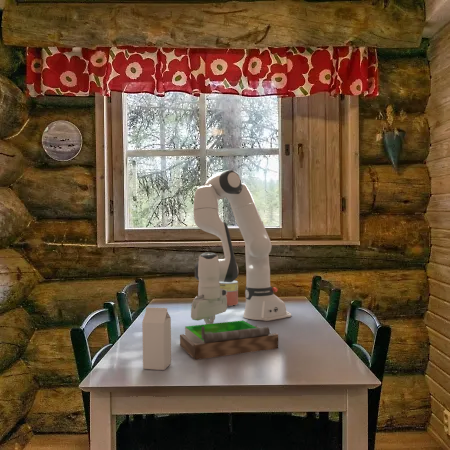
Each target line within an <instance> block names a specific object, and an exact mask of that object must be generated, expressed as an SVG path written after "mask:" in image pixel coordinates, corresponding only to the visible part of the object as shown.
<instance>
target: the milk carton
mask: <svg viewBox="0 0 450 450" xmlns="http://www.w3.org/2000/svg"><path fill="white" fill-rule="evenodd" d="M171 318H172V317H171V315H170V313H169V312H168V308H167V307H153V306H152V307H149V306H148V307H147V306H146V307H145V312H144V316H143V319H142V322H141V324H142V330H141V331H142V334H141V335H142V369H143V370H157V371H165V370H166V369H167V368H168V367H169V366H170V365H171V364H172V325H171V323H172V321H171V320H172V319H171Z"/></svg>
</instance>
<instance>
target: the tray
mask: <svg viewBox="0 0 450 450" xmlns="http://www.w3.org/2000/svg"><path fill="white" fill-rule="evenodd" d="M255 326H256V325H253V324H250V323H248V322H247V321H245V320H234V321H226V322H225V321H224V322H213V324H206V323H205V324H198V325H197V324H196V325H195V324H194V325H188V326H184V329H185V330H184V332H185V333H184V335H185V336H186V337H188V338H189V339H190V340H191V341H192V342H194V343H201V342H204V339H202V327H205V334H209V333H218V332H226V331H235V330H243V329H252V328H257V327H255Z"/></svg>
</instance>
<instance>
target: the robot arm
mask: <svg viewBox="0 0 450 450" xmlns="http://www.w3.org/2000/svg"><path fill="white" fill-rule="evenodd" d="M193 198H194V199H193V220H194V223H195V225H196V227H197V228H198V229H200V230H202V231H203V232H206V233H207V234H208V233H209V234H212V235H214V236H216V237H217V238H219V239H220V241H221V244H222V249H223V254H224V258H219V256H218V254H217V253H214V252H203V253H201V254H200V255H199V257H198V261H196V262H195V264H194V265H193V266H194V278H195V279H196V280H197V281H198V285H197V286H198V287H197V291H198V292H197V293H198V294H197V295H196V296H195V297H194V298H193V300H192V302H191V307H190V308H191V309H190V318H191V320H193V321H202V320H203V321H204V323H205V324H214V323H215V320H216V315H220V314H223V313H226V311H227V309H228V306H227V297H226V295H227V290H225V289H221V288H220V283H219V282H233V281H234V280H235V281H236V279H237V278H238V277H239V267H238V263H237V261H236V257H235V256H236V255H235V252H234V247H233V244H232V238H231V234H230V231H229V227H228V224H227V222H225V221H223V219H222V217H221V215H220V206H219V200H222V199H227V200H228V202H229V204H230V208H231V211H232V214H233V216H234V218H235V221H236V224H237V227H238V229H239V231H240V234H241V236H242V239H243V241H244V243H245V244H244V246H245V247H244V248H245V249H244V251H245V270H246V275H245V276H246V277H245V278H246V279H245V280H246V283H245V284H246V285H245V291H244V292H245V293H244V295H245V306H244V312H243V315H242V317H243V318H245V319H247V320H256V321H265V322H266V321H267V322H268V321H274V320H280V319H286V318H291V317H292V313H291V312H289V311H287V306H286V303H285V302H284V301H283V300H282V299H281V298H280V297H278V296H277V295H276V294H274V293H277V292H278V288H277V287H272V286H271V267H270V256H269V255H270V253H271V251H272V247H273V246H272V242H271V239H270V236H269V234H268V232H267V230H266V227H265V225H264V223H263V221H262V219H261V216H260V213H259V210H258V207H257V206H256V203H255V201H254V198H253V195H252V193H251V191H250V190H249V188H248V187H247V185H246V184H245V183H243V180H242V178H241V177H240V174H238V172H237V171H235V170H233V169H226V170H223V171H220V172H218V173H216V174H214V175H212V176H211V177H210V178H207V179H206V180H205V181H204V182H203V183H202V184H201V186H199V187H197V188H196V190H195V192H194V197H193Z"/></svg>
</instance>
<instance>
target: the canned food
mask: <svg viewBox="0 0 450 450" xmlns="http://www.w3.org/2000/svg"><path fill="white" fill-rule="evenodd" d="M219 283H220V288H221V289H225V290H227V295H226V297H227V307H234V306H233V305H235V306H238V305H239V281H238V280H236V279H235V280H234V281H233V282H219ZM237 304H238V305H237Z"/></svg>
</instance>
